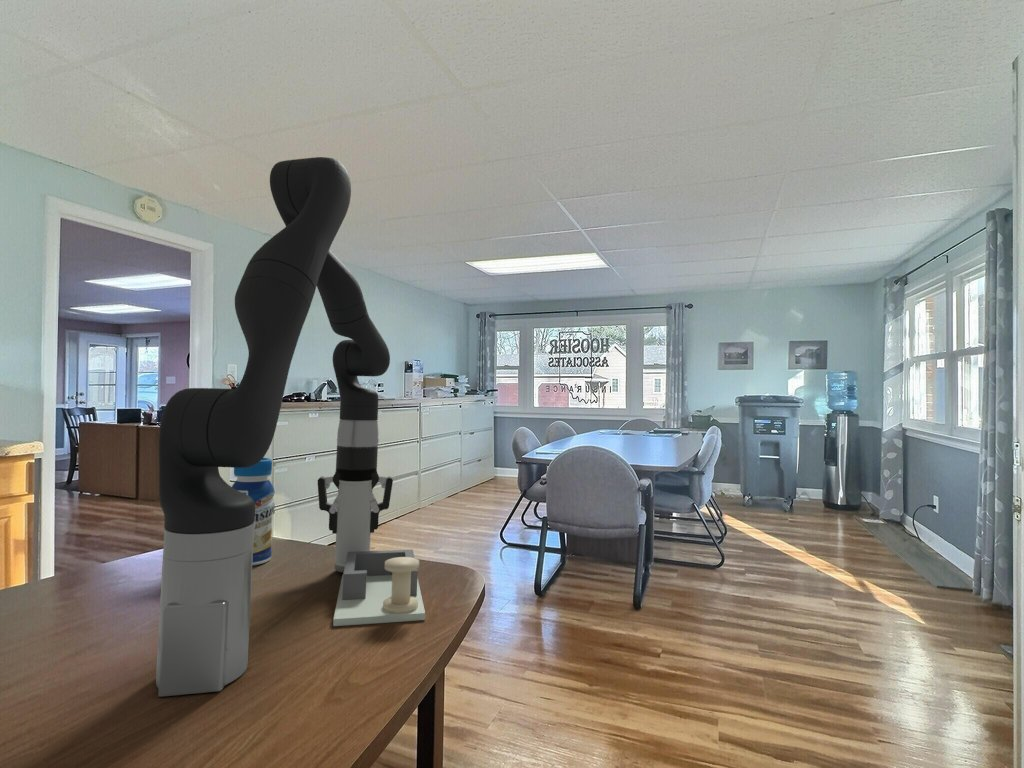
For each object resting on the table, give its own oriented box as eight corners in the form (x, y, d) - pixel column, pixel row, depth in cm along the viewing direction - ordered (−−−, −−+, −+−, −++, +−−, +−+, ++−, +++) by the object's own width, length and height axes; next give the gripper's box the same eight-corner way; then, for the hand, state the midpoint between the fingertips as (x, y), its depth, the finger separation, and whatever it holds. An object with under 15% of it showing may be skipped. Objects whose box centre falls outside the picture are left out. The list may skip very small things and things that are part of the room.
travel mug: (377, 566, 101) (381, 461, 102) (350, 575, 95) (355, 464, 96) (355, 560, 104) (359, 459, 105) (327, 569, 99) (332, 461, 99)
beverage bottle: (254, 552, 109) (258, 455, 110) (281, 559, 105) (286, 459, 106) (214, 562, 102) (219, 459, 103) (242, 570, 98) (247, 462, 99)
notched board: (425, 619, 78) (426, 566, 79) (333, 626, 75) (335, 571, 76) (415, 576, 98) (417, 533, 98) (342, 579, 95) (344, 535, 95)
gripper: (315, 444, 95) (311, 538, 95) (396, 445, 99) (393, 536, 98) (319, 441, 103) (315, 528, 102) (395, 442, 106) (392, 526, 105)
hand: (353, 531), depth 100 cm, fingers closed on travel mug, 6 cm apart
